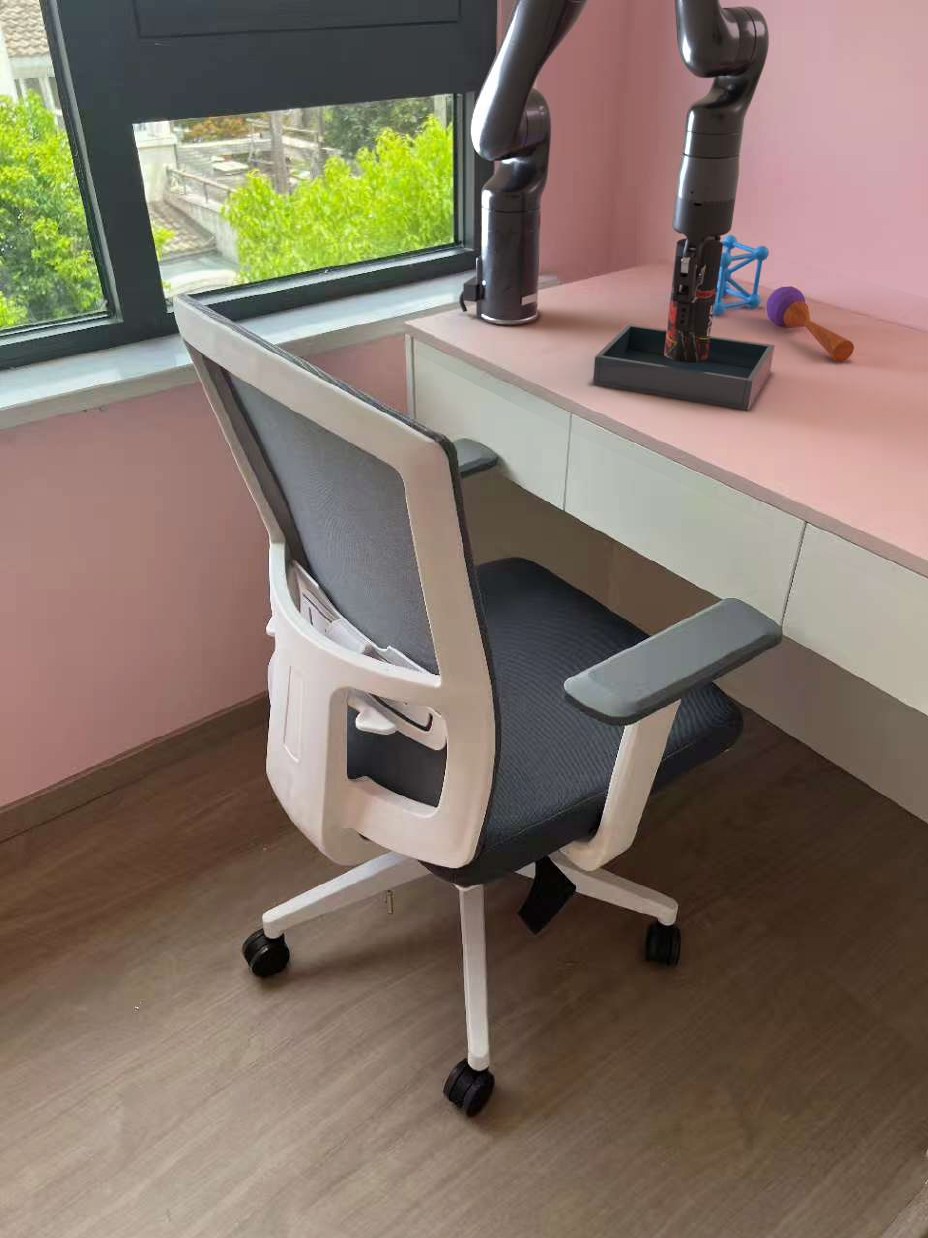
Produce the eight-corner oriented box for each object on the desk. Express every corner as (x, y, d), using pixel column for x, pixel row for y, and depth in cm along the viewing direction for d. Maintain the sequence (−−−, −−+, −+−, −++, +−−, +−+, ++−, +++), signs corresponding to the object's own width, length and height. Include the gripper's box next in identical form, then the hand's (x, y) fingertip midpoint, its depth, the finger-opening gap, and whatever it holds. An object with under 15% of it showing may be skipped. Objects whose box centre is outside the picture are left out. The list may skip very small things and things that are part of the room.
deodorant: (707, 363, 134) (723, 250, 126) (663, 360, 135) (676, 248, 127) (707, 348, 139) (722, 238, 130) (664, 345, 140) (677, 236, 131)
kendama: (825, 337, 141) (759, 286, 156) (822, 375, 145) (758, 321, 160) (864, 326, 141) (794, 276, 156) (860, 364, 145) (792, 311, 160)
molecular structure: (677, 301, 167) (684, 240, 161) (723, 292, 171) (731, 232, 165) (715, 318, 160) (724, 255, 154) (762, 308, 164) (773, 246, 158)
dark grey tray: (592, 384, 138) (594, 356, 135) (625, 350, 148) (627, 323, 146) (747, 410, 130) (752, 381, 128) (769, 372, 141) (774, 345, 138)
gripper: (691, 178, 131) (676, 303, 141) (661, 201, 121) (647, 335, 131) (747, 182, 129) (729, 310, 139) (722, 206, 118) (703, 343, 128)
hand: (689, 322), depth 135 cm, fingers closed on deodorant, 6 cm apart
